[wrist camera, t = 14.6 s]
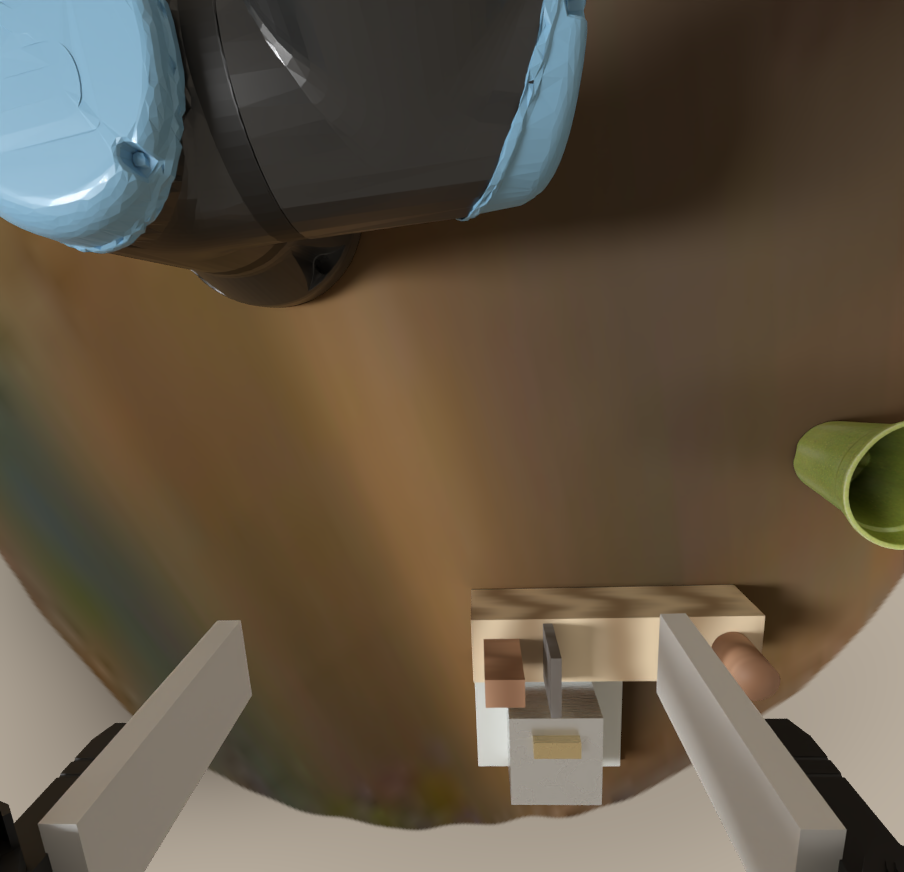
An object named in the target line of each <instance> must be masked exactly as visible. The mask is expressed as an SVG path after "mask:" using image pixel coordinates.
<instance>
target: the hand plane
mask: <svg viewBox="0 0 904 872" xmlns="http://www.w3.org/2000/svg"><path fill="white" fill-rule="evenodd" d="M676 613H686V614H687V616H688V617H689V618H690V620H691V621H692V622H693V624H694V625H695V626H696V628H697V629H698V630H699V632H700V633H701V634H702V636H703V637H704V638H705V640H706V641H707V642H708V644H709V645H710V647H711V648H712V649H713V651H714V652H715V653H716V655H717V656H718V657H719V659H720V660H721V661H722V663H723V664H724V665H725V667H726V668H727V669H728V671H729V672H730V673H731V675H732V676H733V677H734V679H735V680H736V682H737V683H738V684H739V686H740V687H741V688H742V690H743V691H744V692H745V694H746V695H747V696H748V698H749V699H750V700H752V701H761V700H765V699H767V698H769V697H771V696H772V695H773V694H775V692H776V691H777V690H778V688H779V685H780V676H779V674H778V672H777V671H776V670H775V668H774V667H773V666H772V665H771V664H770V663H769V662H768V660H767V659H766V658H765V657H764V656H763V655H762V645H763V635H764V624H765V615H764V614H763V613H762V612H761V611H760V610H759V609H758V608H757V607H756V606H755V605H754V604H753V603H752V602H751V601H750V600H749V599H748V598H747V597H746V596H745V595H744V594H743V593H742V592H741V591H740V590H739V589H738V588H737V587H736V586H735V585H694V586H641V587H588V588H534V589H481V590H471V635H472V658H473V682H474V683H475V682H485V704H486V708H525V682H544V684H545V689H546V694H547V700H548V705H549V710H550V715H551V718H562V682H592V681H657V670H658V649H659V627H660V614H676Z"/></svg>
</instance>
